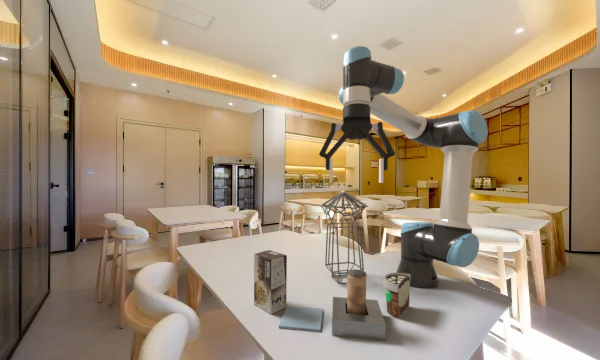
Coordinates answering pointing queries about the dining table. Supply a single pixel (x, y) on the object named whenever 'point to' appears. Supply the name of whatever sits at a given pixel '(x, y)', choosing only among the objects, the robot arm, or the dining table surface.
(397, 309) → the food container
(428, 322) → the dining table surface
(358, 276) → the wooden cylinder
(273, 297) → the coffee box
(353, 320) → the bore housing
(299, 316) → the light blue square plate
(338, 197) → the geometric lantern
